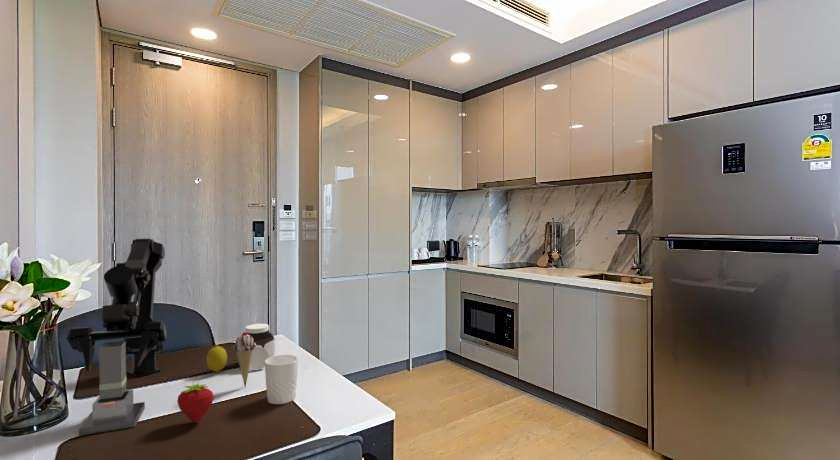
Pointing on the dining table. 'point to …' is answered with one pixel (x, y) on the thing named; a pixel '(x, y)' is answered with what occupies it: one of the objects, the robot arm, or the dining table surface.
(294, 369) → the white cup
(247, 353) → the ice cream cone
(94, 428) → the jack stand base
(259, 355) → the spread jar
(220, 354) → the lemon
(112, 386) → the jack column
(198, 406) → the strawberry
